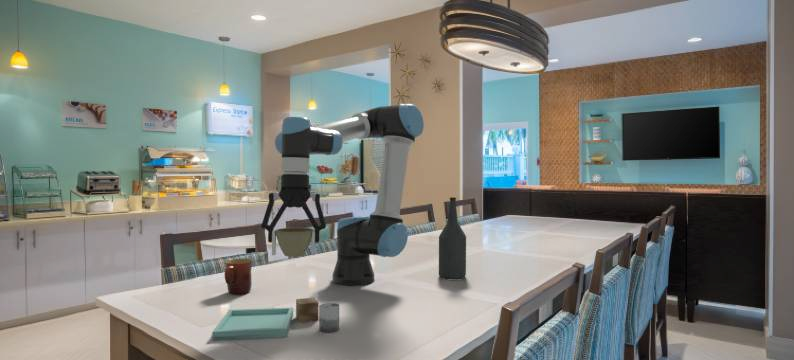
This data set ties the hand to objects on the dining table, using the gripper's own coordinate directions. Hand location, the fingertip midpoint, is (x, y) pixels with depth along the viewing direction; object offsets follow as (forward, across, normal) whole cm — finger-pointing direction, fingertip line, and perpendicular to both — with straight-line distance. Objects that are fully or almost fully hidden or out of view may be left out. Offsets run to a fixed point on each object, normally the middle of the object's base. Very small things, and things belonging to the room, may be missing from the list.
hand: (293, 254), depth 125 cm
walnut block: (+17, -4, +4) cm, 18 cm away
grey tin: (+17, -10, +13) cm, 23 cm away
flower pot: (+1, 0, 0) cm, 1 cm away
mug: (+17, +20, -24) cm, 35 cm away
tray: (+17, +8, +8) cm, 21 cm away
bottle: (+15, -55, -38) cm, 69 cm away
